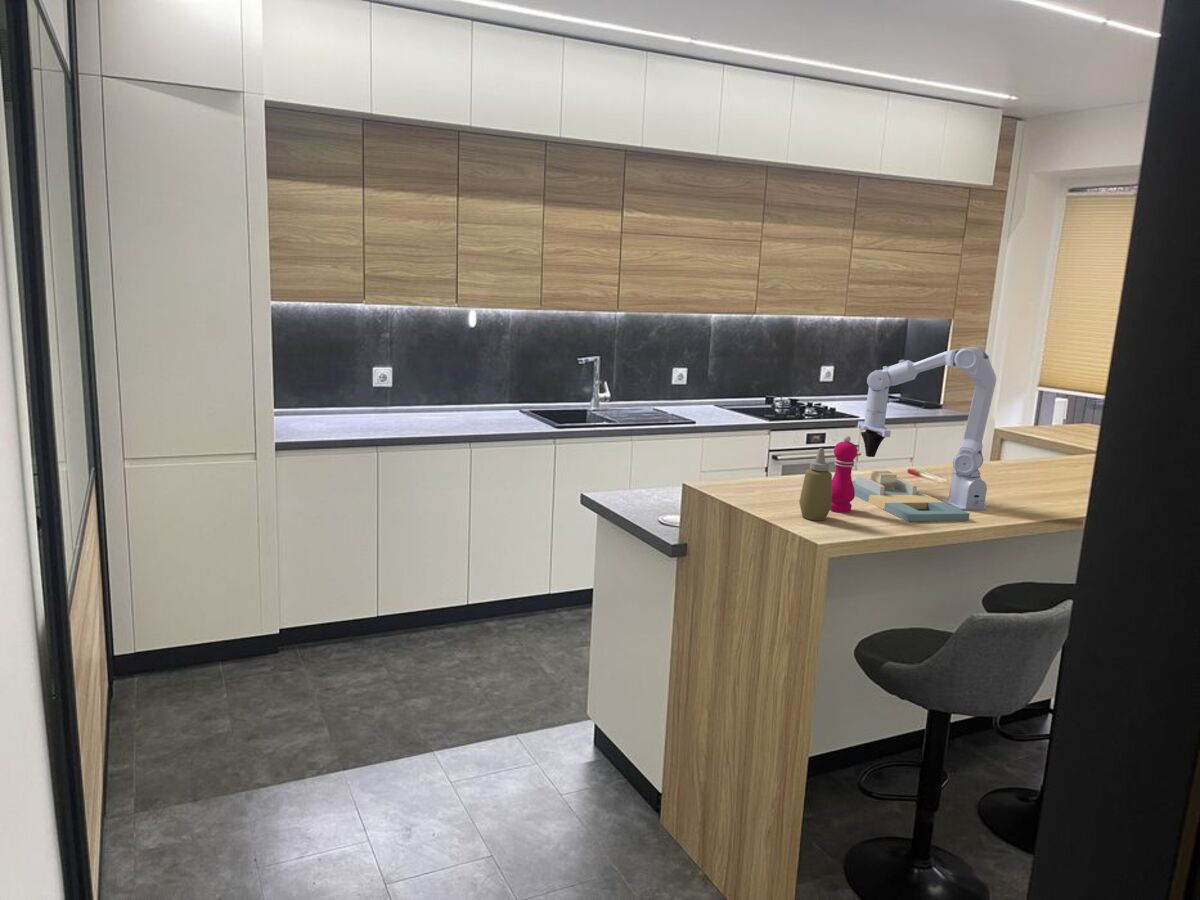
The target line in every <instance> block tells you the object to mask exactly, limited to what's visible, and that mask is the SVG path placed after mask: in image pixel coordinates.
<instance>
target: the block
mask: <svg viewBox="0 0 1200 900" xmlns="http://www.w3.org/2000/svg"><path fill="white" fill-rule="evenodd" d="M897 476H898V475H897V474H896V473H894V472H892V471H889V470H883V469H882V470H879V469H877V470H876V469H875V470H874V469H873V470H871V472H870V480H872V481H874V482H876V483H879V484H881V485H883V486H885V488H884V490H895V484H896V477H897Z"/></svg>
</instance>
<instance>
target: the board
mask: <svg viewBox="0 0 1200 900" xmlns="http://www.w3.org/2000/svg"><path fill="white" fill-rule="evenodd" d="M855 476H856V477H855V480H852V483H853V486H854V490H855V496H856V497H857V498H859V499H860V500H864V501H865V502H868V503H869V504H871V505H873V506H875V505H876V506H875V507H877V506H878V507H877V508H879V507H880V508H879V509H882V510H883V509H884V510H883V511H886V512H887V513H889V512H890V513H889V514H891V515H893V514H894V515H893V516H895V515H896V516H895V517H897V516H898V518H899V517H900V518H899V519H901V518H902V519H901V520H903V519H904V520H903V521H905V520H906V521H905V522H907V521H932V522H969V519H970V513H969V512H968V511H966V510H961V509H959V508H957V507H954V506H952V505H950V504H948V503H945V502H943V501H942V500H939V499H938V498H934V497H932V496H930V495H928V494H926V493H923V492H921V491H918V490H917V489H918V486H917V485H915V484H913V483H910V482H909V481H906V480H904V479H901V478H899V477H897V476H896V484H895V490H884V488H885V486H883V485H881V484H879V483H876V482H874V481H872V480H871V478H870V479H869V478H868V477H865V476H863V475H861V474H856V475H855ZM961 520H962V521H961Z"/></svg>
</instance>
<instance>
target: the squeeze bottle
mask: <svg viewBox="0 0 1200 900" xmlns="http://www.w3.org/2000/svg"><path fill="white" fill-rule="evenodd" d="M825 459H826V456H825V449H824V448H820V447H819V448H818V451H817V454H816V456H815V460H813V461H810V464H809V469H807V470H805V474H804V478H803V483H802V488H801V492H800V498H799V501H798V502H799V508H800V512H801V517H802V518H804V519H807V520H811V521H825V520H826V519H827V517H828V514H829V512H830V509H831V506H832V479H833V473H831V472H830V463H829V462H826V460H825Z"/></svg>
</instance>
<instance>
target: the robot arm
mask: <svg viewBox="0 0 1200 900" xmlns="http://www.w3.org/2000/svg"><path fill="white" fill-rule="evenodd" d="M942 366H947V367H951V368H953V367H957V368H958V369H959V370H960V371H961V372H964V373H965V374H968V376H969V377H970V378H971V379H972V381H973V382H974V383H975V386H974V391H973V395H972V399H971V403H970V409H969V413H968V417H967V422H966V426H965V431H964V434H963V439H962V442H961V444H960V446H959V450H958V452H957V454H956V455H955V456H954V458H953V459H952V467H953V470H952V474H951V481H950V487H949V493H948V494H949V496H948V498H945V499H944V498H943V499H941V501H942V502H944V503H947V504H949V505H951V506H954V507H956V508H958V509H960V510H963V511H966V510H967V511H968V510H969V511H971V510H972V511H973V510H974V511H976V510H978V511H979V510H981V511H982V510H983V511H984V510H987V507H986V506H985V504H986V496H987V490H988V488H987V483H986V482H985V481H984V480H983V479H982V478H981V471H980V469H979V468H981V467H982V465H983V464H984V463H983V462H984V456H983V445H984V444H983V440H984V435H985V431H986V427H987V422H988V418H989V414H990V409H991V405H992V401H993V396H994V392H995V387H996V384H997V376H996V375H997V374H996V373H995V370H994V369H993V366H992V363H991V361H990V356H989V355H988V354H987V353H986V352H985V351H984V350H983V349H982V348H981V347H979V346H976V345H974V346H973V345H972V346H968V347H963V348H957V349H951V350H947V351H943V352H940V353H937V354H935V355H933V356H929V357H927V358H925V359H924V358H923V359H922V360H919V361H915V362H913V361H911V360H909V359H907V360H905V359H900V360H898V363H896V364H893V365H890V366H888V365H885V366H882V369H875V370H874V371H872V372H870V373H869V374H868V376H867V379H866V384H867V385H868V391H867V398H866V406H865V413H864V421H862V420H861V421H860V420H859V421H857V428H858V429H863V430H865V431H860V435H861V437H862V440H863V443H864V449H865V456H866V457H867V458H875V457H876V455H877V451H878V449H879V447H880V446H881V443H882V442H883V441H884V439H885V438H890V437H891V433H892V432H891V429H888V428H887V427H886V426H885V425H886V424H885V423H886V416H887V408H888V407H887V406H888V400H889V390H890V389H889V388H890V387H891V386H892V387H894V386H897V385H900V384H904V383H907V382H910V381H913V380H915V379H916V377H917V376H918V374H919V373H921V372H925V371H929V370H932V369H935V368H936V369H937V368H938V367H942Z"/></svg>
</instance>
